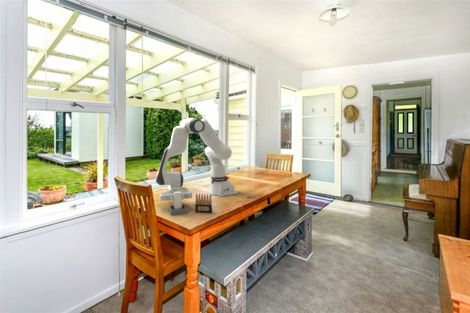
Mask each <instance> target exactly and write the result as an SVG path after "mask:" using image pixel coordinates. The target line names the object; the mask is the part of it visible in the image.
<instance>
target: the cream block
mask: <svg viewBox="0 0 470 313" xmlns="http://www.w3.org/2000/svg"><path fill="white" fill-rule="evenodd" d="M174 198H175V200H174V201H173V205H174V208H175V209H181V208H182V205H181V204H182V200H181V192H180V191H178V192H174Z"/></svg>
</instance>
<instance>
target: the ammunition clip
mask: <svg viewBox="0 0 470 313" xmlns="http://www.w3.org/2000/svg"><path fill="white" fill-rule="evenodd" d="M194 202H195V206H194V207H195V209H194V212H195V213H204V214H212V213H213V204H212V203H213V201H212V195H211V194H210V193H209V194H208V193H204V194H203V193H201V194H200V193H195V201H194Z"/></svg>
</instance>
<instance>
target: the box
mask: <svg viewBox="0 0 470 313" xmlns="http://www.w3.org/2000/svg"><path fill="white" fill-rule="evenodd" d="M181 205H182V208H181V209H175V208H174V204H173V205H168V211H169V214H170V215H171V216H176V215H183V214H188V208H187V205H186V204H185V203H183V204H182V203H181Z"/></svg>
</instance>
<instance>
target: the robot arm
mask: <svg viewBox="0 0 470 313" xmlns="http://www.w3.org/2000/svg"><path fill="white" fill-rule="evenodd" d="M190 134H198V135H199V136H200V138H201V140H202V141H203V143H204V144H205V145H206V147H205V150H204V154H205V156H206V157H207V159H208V161H209V163H210V173H211V176H210V183H211V184H210V191H209V195H210V194H211V196H219V197H223V196H224V197H225V196H231V195H237V194H238V190H237V189H235V185H234V184H233V183H231V182H230V181H229V180H230V177H229V176H227V175H226V166H225V165H224V164H223V162H222V160H223V161H224V160H229V159H230V158H231V157H232V153H233V152H232V149H231V147H230V146H228V145H226V144H225V143H224V142H223V141H222V140H221V139H220V138H219V137H218V136H217V133H216V132H215V130H214V128H213V126H212V125H211V124H210V123H209V121H208V120H207V119H205V118H197V117H188V118H186V117H185V118H182V119H181V120H180V121H179V123H178V125H177V126H175V127H173V130H172V133H171V138H170V144H169V145H168V146H167V147H166V148H165V149H164V151H163V153H162V157H161V160H160V164H159V167H158V170H157V173H156V175H155V183H156V184H157V185H158V186H167V188H166V192H162V193H160V194H159V197H160V199H159V200H160V201H161V202H164V201H173V202H174V200H175V198H174V192H178V191H180V192H181V201H183V200H184V199H185V200H187V199H192V198H193V192H192V191H191V189H189V188H188V187H183V186H184V175H183V174H182V172H180V171H169V170H166V167H167V164H168V160H169V159H170V158H172V157H175V156H179V155H182V154H183V153H185V151H186V150H187V146H188V137H189V135H190Z"/></svg>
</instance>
